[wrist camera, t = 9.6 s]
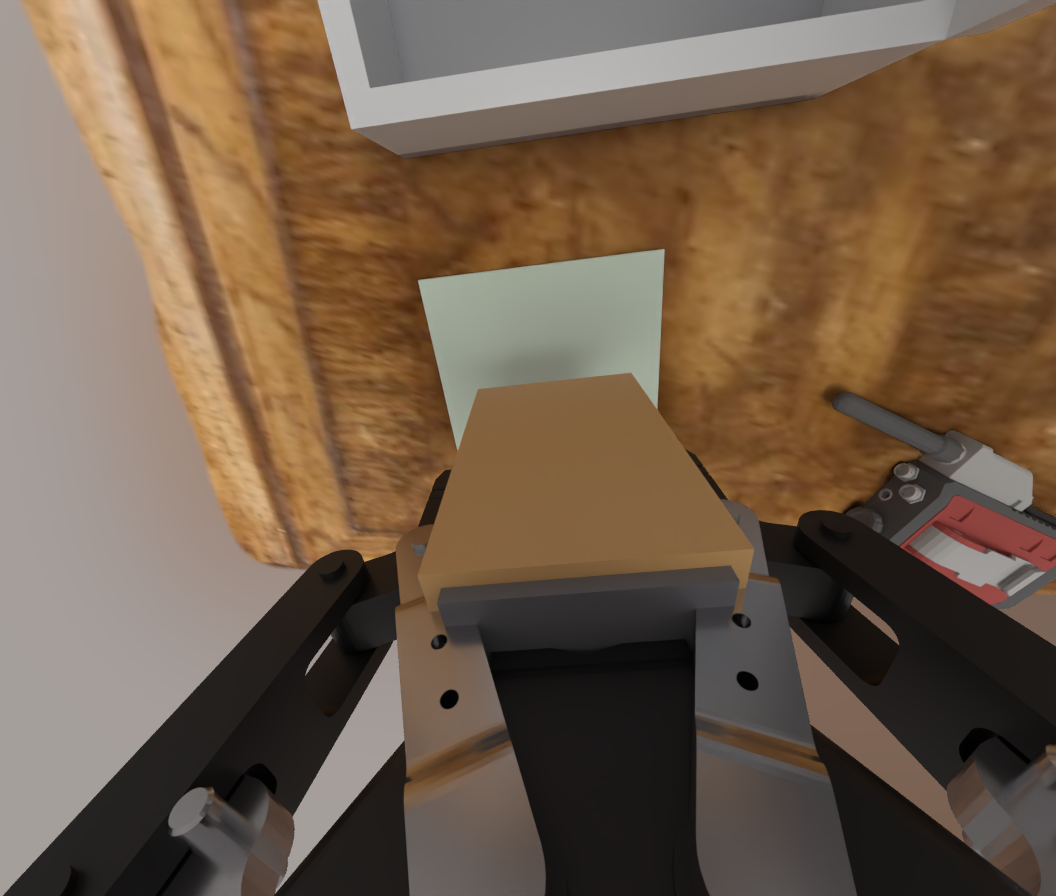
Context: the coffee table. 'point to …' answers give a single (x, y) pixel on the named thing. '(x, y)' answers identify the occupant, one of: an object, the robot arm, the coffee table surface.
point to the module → (578, 523)
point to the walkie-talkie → (960, 510)
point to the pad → (545, 325)
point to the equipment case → (612, 60)
